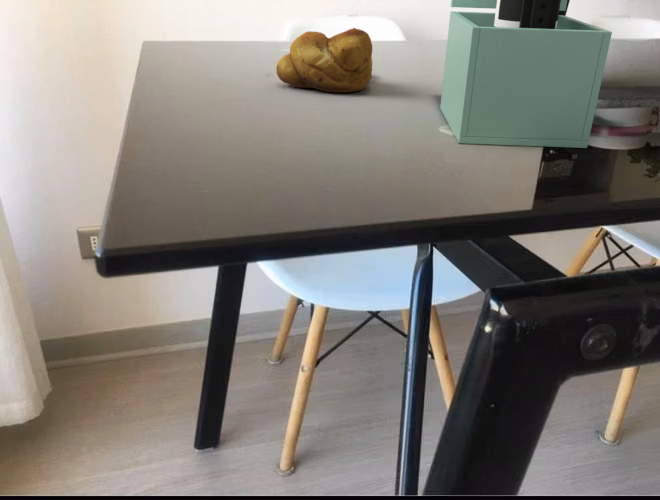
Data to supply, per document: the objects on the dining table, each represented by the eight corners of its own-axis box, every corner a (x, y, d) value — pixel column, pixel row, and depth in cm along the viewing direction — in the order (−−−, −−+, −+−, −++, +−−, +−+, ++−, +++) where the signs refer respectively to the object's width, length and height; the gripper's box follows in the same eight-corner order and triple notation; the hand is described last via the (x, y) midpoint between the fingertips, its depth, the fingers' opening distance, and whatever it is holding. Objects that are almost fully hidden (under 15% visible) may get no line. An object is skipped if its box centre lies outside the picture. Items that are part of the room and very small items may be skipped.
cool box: (587, 148, 61) (612, 31, 56) (458, 143, 61) (472, 27, 56) (546, 112, 74) (563, 15, 69) (440, 108, 74) (450, 11, 69)
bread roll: (266, 89, 80) (265, 23, 77) (292, 76, 89) (293, 16, 85) (363, 99, 77) (367, 30, 74) (381, 84, 85) (385, 22, 82)
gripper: (637, -194, 48) (591, 48, 55) (567, -161, 63) (538, 24, 71) (537, -196, 48) (505, 46, 55) (492, -162, 63) (471, 23, 71)
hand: (524, 32), depth 63 cm, fingers closed on medicine bottle, 7 cm apart
